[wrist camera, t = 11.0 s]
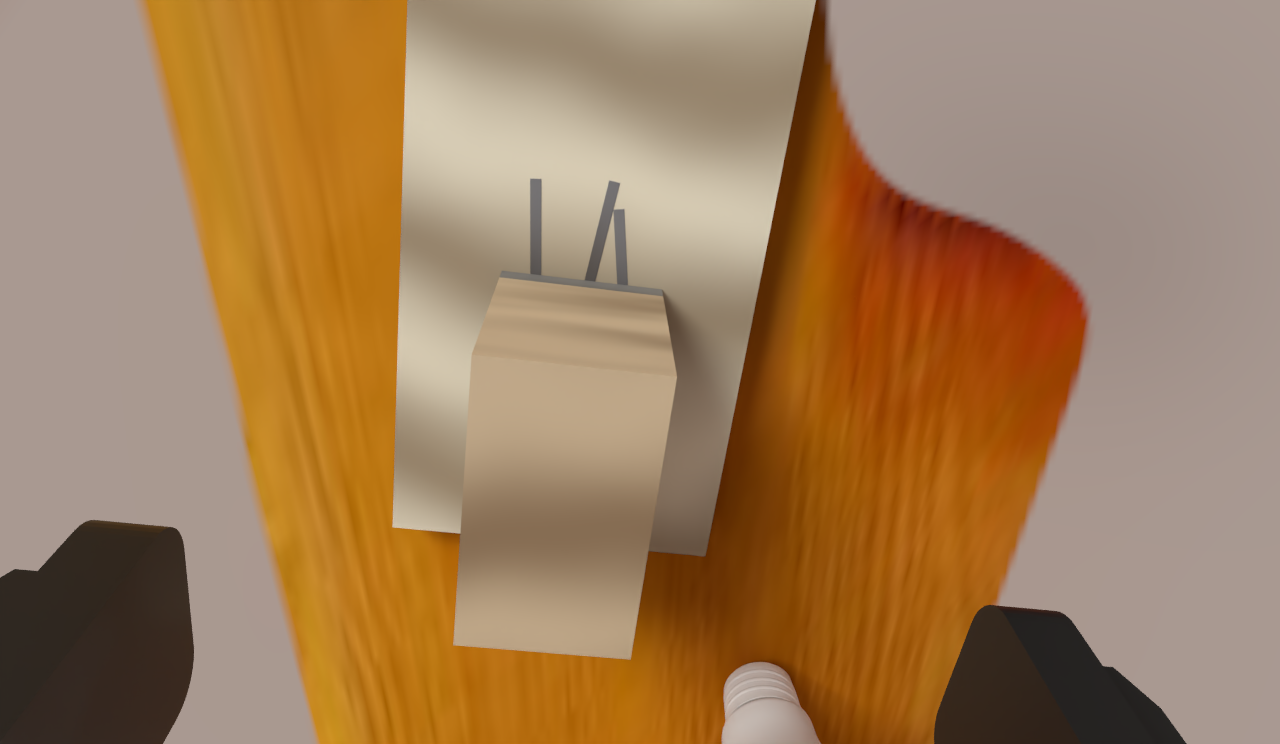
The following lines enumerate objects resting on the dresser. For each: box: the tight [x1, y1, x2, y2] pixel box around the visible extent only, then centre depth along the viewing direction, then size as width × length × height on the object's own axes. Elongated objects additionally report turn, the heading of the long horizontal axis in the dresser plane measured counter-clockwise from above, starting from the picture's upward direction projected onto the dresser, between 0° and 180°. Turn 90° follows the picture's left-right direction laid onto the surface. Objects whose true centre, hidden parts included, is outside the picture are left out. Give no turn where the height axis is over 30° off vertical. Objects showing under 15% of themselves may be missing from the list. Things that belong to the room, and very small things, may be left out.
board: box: [393, 0, 816, 556], centre depth 26 cm, size 18×10×2 cm, turn 172°
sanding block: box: [453, 271, 677, 659], centre depth 24 cm, size 8×4×6 cm, turn 172°
